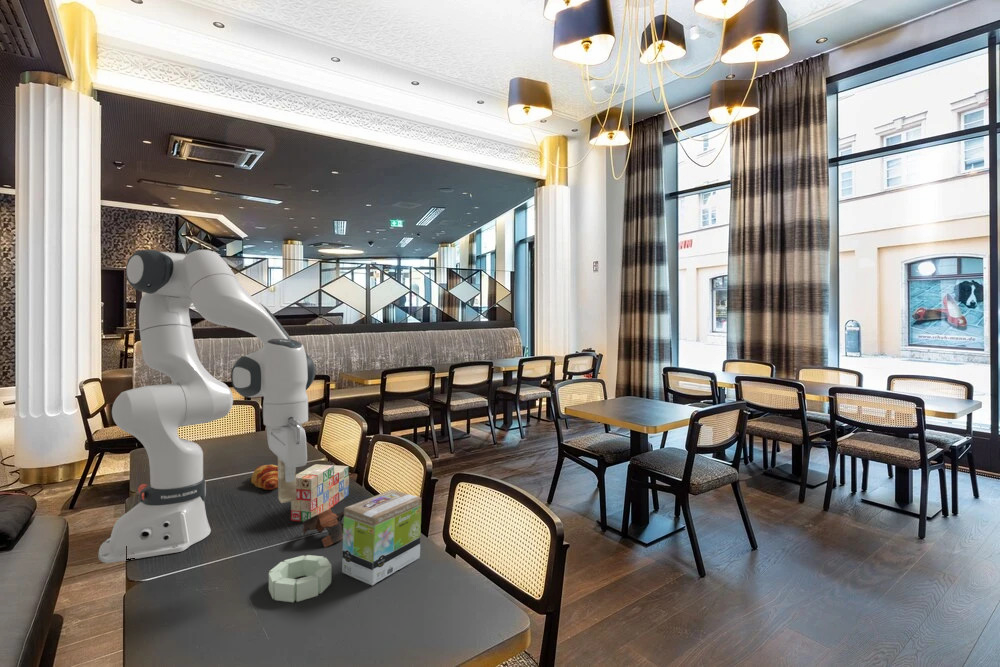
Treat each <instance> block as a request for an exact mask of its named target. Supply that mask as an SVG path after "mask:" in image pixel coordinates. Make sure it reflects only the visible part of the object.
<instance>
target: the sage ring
mask: <svg viewBox="0 0 1000 667" xmlns="http://www.w3.org/2000/svg"><path fill="white" fill-rule="evenodd" d="M299 577H300V578H299ZM331 584H332V564H331V562H330V561H329V559H328V558H327V557H324V556H322V555H321V556H320V555H311V554H307V555H299V556H296V557H292V558H288V559H284V560H283V561H280V562H279V563H278V564H277V565H275V566H274V567H273V568H272V569H270V570H269V572H268V591H269V594H270V596H271V598H272V600H274V601H280V602H285V603H294V602H295V601H296V603H298V602H301V601H304V600H307V599H311V598H314V597H318V596H319V594H320V595H321V594H322V593H323V592H324V591H325V590H326V589H327V588H328V587H329V586H330V585H331Z"/></svg>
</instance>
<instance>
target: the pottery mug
mask: <svg viewBox="0 0 1000 667" xmlns="http://www.w3.org/2000/svg"><path fill="white" fill-rule="evenodd" d="M343 519H344V510H343V511H341V512H338V513H333V511H332V509H331V508H330V509H328V510H326V511H324V512H322V513H320V514H318V515H315V516H313V517H311V518H309V519H307V520H306V521H304V522H303V521H302V525H303V529H302V533H303V535H305V534H306V532H308V531H315V530H316V531H317V532H318V533H322V532H323V531H325V530H327V533H328V535H326V536H325V537H323V538H321V543H322V544H323V545H322V546H323V547H324V548H327V547H330V546H333V544H335V543H338V542H340V541H343V525H344V523H342V521H343Z"/></svg>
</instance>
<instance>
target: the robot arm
mask: <svg viewBox="0 0 1000 667" xmlns="http://www.w3.org/2000/svg"><path fill="white" fill-rule="evenodd" d="M125 275H126V279H127V282H128V283H129V285H130V287H131V288H133V289H134V290H136V291H138V292H142V293H144V294H143V295H142V297H141V299H140V301H139V311H138V312H139V313H138V325H139V336H140V344H141V352H142V359H143V361H144V363H145V364H146V366H147V367H149V368H150V369H152V370H154V371H157V372H160V373H163V374H164V375H166V376H167V377H169V378H170V380H171V381H172V383H165V384H155V385H152V384H151V385H145V386H139V387H135V388H131V389H127V390H125V391H122V392H120V394H118V396H117V397H116V398H115V400H114V402H113V404H112V407H111V408H112V409H111V416H112V419H113V422H114V423H115V424H116V426H117V427H118V428H119V429H120V430H122V431H123V432H125V433H127V434H129V435H131V436H133V437H134V438H136V439H137V440H138V442H140V443H141V444H142V445H143V447H144V449H145V451H146V454H147V457H148V463H149V480H150V482H149V484H147V483H142V484H140V485H139V486H138V488H137V489H138V490H137V491H138V493H139V501H140V502H138V503H137V504H136V505H135V506H133V507H132V508H131V509H130V510H128V511H127V512H126V513H124V514H123V515H121V516H120V517H119V518H118V519H117V521H116V522H115V524H114V525H113V527H112V530H111V534H110V537H109V538H107V539H106V540H105V541H103V543H102V544H100V547H99V549H98V553H97V554H98V555H97V557H98V559H99V561H100V562H102V563H104V564H111V563H112V564H113V563H117V562H118V563H119V562H123V561H127V560H126V546H127V559H128V558H129V559H130V558H135V559H134V560H136V559H144V558H150V557H156V556H161V555H169V554H174V553H179V552H183V551H185V550H186V549H188V548H190V546H192V545H194V544H196V543H198V542H200V541H202V540H204V539H205V538H207V537H208V536H209V535H210V534H211V532H212V529H211V527H210V523H209V520H208V517H207V512H206V505H205V500H206V496H207V494H206V493H207V486H206V485H207V484H206V483H207V482H206V479H205V477H204V451H203V449H202V447H201V446H200V444H198V443H196V442H195V441H191V440H188V439H184V438H181V437H179V433H178V428H181V427H189V426H196V425H201V424H207V423H211V422H213V421H214V422H215V421H217V420H219V419H222V418H225V417H227V416H228V414H229V413H230V411H231V410H232V408H233V404H234V396H233V393H232V390H231V388H230V387H229V386H228V385H227V384H226V383H224V382H222V381H221V380H219V379H217V378H215V377H214V376H213V375H212V374H210V372H209V371H207V369H206V368H205V367H204V366H203V364H202V362H201V361H200V358H199V356H198V352H197V348H196V345H195V340H194V333H193V328H192V323H191V318H190V317H191V316H190V308H191V305H193V307H194V308H195V310H196V311H197V313H198V314H199V315H201V317H202V318H203V319H205V320H206V321H208V322H209V323H212V324H215V325H218V326H223V327H228V328H233V329H236V330H241V331H244V332H247V333H249V334H251V335H253V336H255V337H256V338H257V339H259V340H260V342H262V344H263V346H262V347H261V348H260V349H258V350H255V351H254V352H252V353H250V354H249V353H248V354H246V355H241V357H239V358H238V359H236V361H234V364H233V366H232V368H231V372H230V381H231V386H232V387H233V389H234V390H235V391H236V393H237V394H239V395H240V396H242V397H244V398H261V397H262V398H263V403H262V407H263V408H262V419H263V425H264V426H265V429H266V436H267V437H266V438H267V439H266V440H267V445H268V449H269V450H270V451H272V453H273V454H274V455H275V456H276V457H277V459H278V458H279V459H280V460H281V461H282V462H283V463H284V466H285V473H284V480H285V481H286V482H293V481H294V480H295V470H296V471H297V468H298V467H304V466H306V465H307V463H308V448H307V436H306V430H305V428H303V424H305V423H307V422H308V421H309V397H308V394H307V390H308V389H309V388H310V387H311V385H312V384H313V382H314V380H315V377H316V366H315V364H314V361H313V359H312V358H311V357H310V356H309V354H308V353H306V350H305V347H304V344H303V343H301V342H300V341H297V340H294V339H292V337H291V336H290V335H289V333H288V332H287V330H285V328H284V326H282V324H281V322H280V321H278V319H277V318H276V317H275V315H274V314H273V313H272V312H271V311H270V310H269V309H268V308H267V307H266V306H265V305H264V304H262V303H261V302H259V301H257V299H255V298H254V297H253V296H252V295H251V294H250V293H248V291H247V290H246V289H245V288H244V287H243V286H242V284H241V283H240V281H239V279H238V277H237V276H236V274H235V273H234V271H233V270H232V269H231V267H230V265H228V264H227V262H226V261H225V260H224V259H223V258H222V256H220V255H219V253H217V252H216V251H212V250H210V249H197V250H194V251H191V252H189V253H188V254H186V253H179V252H177V253H176V252H169V251H159V250H157V249H140V250H137V251H135V252H134V253H133V254H132V255H130V256H129V258H128V260H127V262H126V265H125Z"/></svg>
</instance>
